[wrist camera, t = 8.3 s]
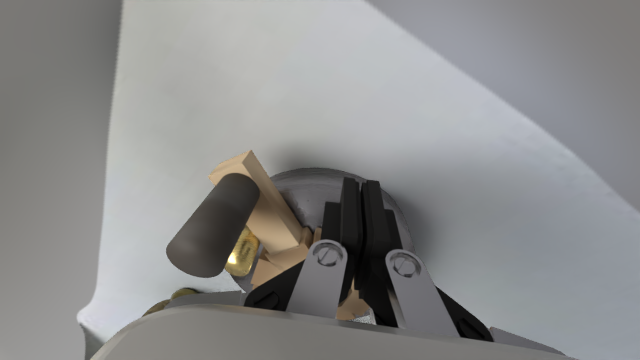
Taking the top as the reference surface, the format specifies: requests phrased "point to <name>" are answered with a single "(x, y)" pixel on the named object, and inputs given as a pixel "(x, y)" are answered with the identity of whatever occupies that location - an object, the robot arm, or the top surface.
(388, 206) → the post base
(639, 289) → the top surface
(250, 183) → the wrench
